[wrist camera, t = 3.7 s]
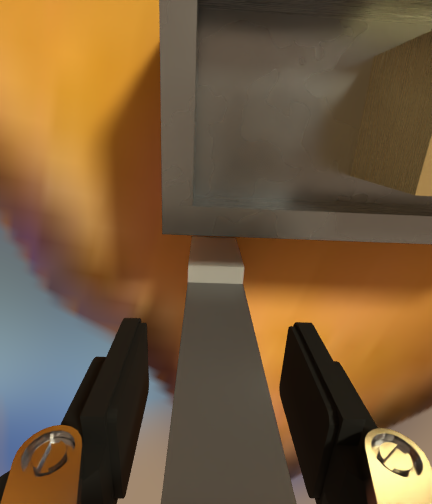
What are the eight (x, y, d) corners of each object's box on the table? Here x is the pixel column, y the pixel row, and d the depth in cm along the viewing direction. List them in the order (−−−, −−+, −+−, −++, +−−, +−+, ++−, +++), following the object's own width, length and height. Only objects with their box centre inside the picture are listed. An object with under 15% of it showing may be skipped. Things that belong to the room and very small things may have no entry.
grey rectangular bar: (236, 237, 17) (445, 974, 2) (231, 301, 18) (335, 1011, 4) (192, 236, 17) (89, 1001, 2) (190, 300, 18) (123, 1029, 3)
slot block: (575, 41, 14) (817, -19, 9) (508, 213, 17) (656, 252, 11) (178, 13, 13) (158, -73, 8) (177, 199, 16) (162, 234, 11)
